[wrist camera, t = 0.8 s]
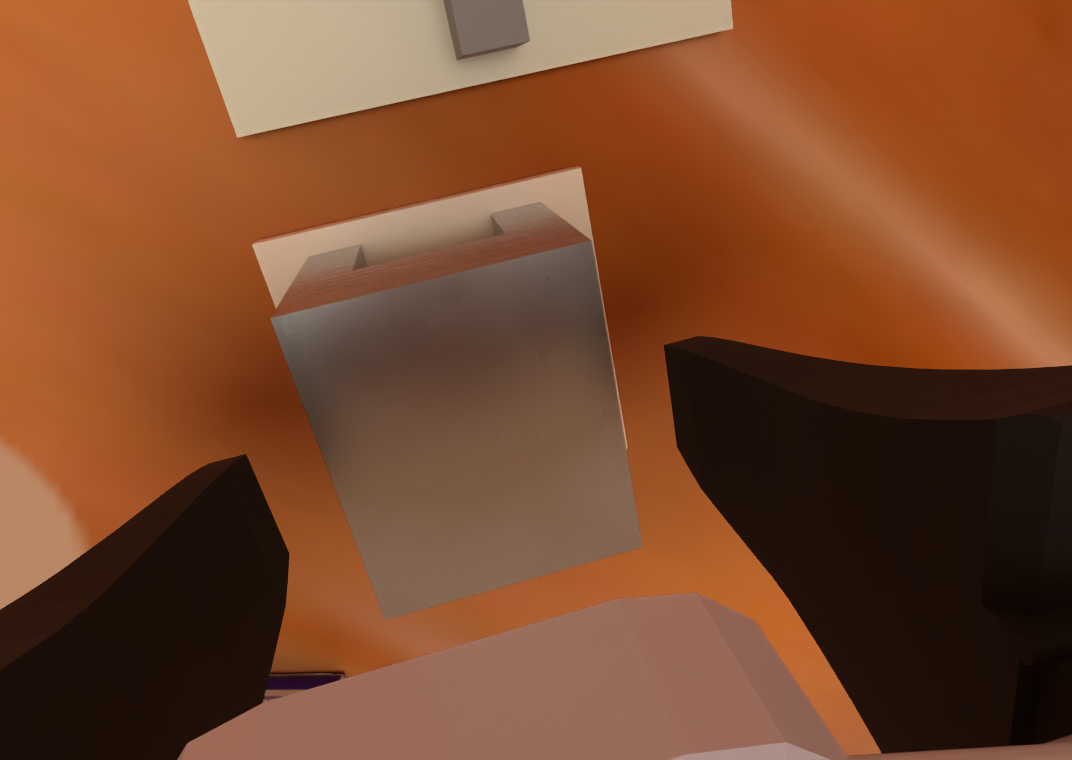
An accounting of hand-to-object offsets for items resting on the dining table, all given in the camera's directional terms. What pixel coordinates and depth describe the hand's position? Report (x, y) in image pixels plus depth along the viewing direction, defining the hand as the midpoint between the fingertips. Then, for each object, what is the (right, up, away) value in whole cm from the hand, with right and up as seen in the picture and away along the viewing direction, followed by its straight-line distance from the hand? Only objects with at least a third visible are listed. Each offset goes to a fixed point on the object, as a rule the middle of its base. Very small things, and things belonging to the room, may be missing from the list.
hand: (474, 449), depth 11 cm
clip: (-1, +2, +4) cm, 4 cm away
